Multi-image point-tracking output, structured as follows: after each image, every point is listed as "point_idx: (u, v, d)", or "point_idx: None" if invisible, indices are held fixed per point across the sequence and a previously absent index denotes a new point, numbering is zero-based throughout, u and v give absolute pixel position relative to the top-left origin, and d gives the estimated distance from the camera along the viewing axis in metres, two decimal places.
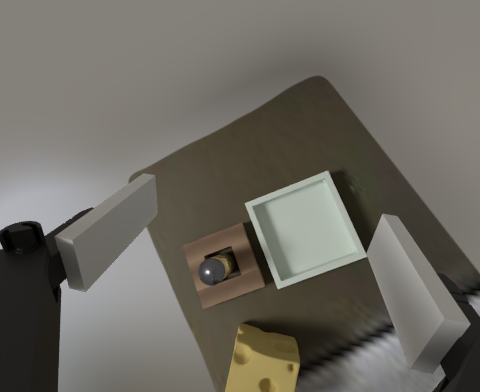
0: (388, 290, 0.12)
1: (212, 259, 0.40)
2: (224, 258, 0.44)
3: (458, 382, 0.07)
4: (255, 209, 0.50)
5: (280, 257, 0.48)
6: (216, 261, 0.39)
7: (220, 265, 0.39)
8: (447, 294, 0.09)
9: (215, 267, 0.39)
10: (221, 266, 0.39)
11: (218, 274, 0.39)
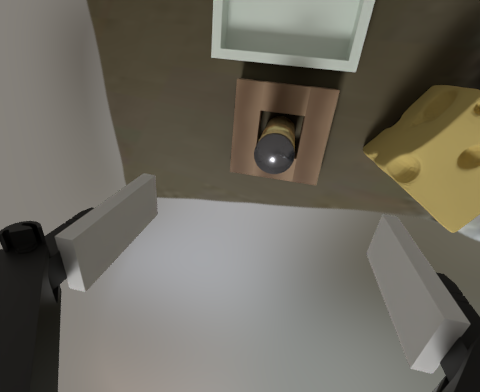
0: (388, 290, 0.12)
1: (258, 144, 0.26)
2: (269, 127, 0.29)
3: (458, 382, 0.07)
4: (229, 47, 0.31)
5: (316, 45, 0.29)
6: (264, 140, 0.25)
7: (272, 137, 0.25)
8: (447, 294, 0.09)
9: (271, 146, 0.25)
10: (274, 137, 0.25)
11: (283, 146, 0.25)
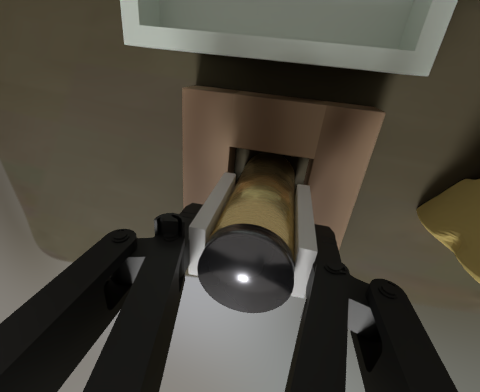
0: None
1: (206, 253, 0.10)
2: (241, 191, 0.14)
3: (308, 304, 0.08)
4: (167, 25, 0.16)
5: (338, 20, 0.14)
6: (218, 247, 0.10)
7: (238, 243, 0.10)
8: (312, 234, 0.11)
9: (236, 259, 0.10)
10: (243, 241, 0.10)
11: (266, 263, 0.10)
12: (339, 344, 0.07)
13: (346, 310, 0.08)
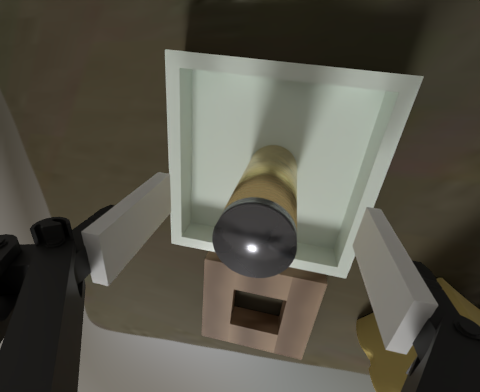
0: (369, 279, 0.12)
1: (220, 222, 0.12)
2: (250, 174, 0.15)
3: (427, 361, 0.07)
4: (195, 220, 0.26)
5: (298, 231, 0.24)
6: (231, 215, 0.12)
7: (249, 211, 0.11)
8: (419, 279, 0.10)
9: (247, 227, 0.12)
10: (254, 210, 0.11)
11: (273, 230, 0.12)
12: None
13: None
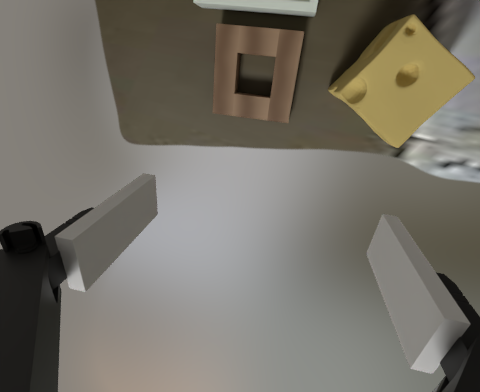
0: (388, 290, 0.12)
1: None
2: None
3: (458, 382, 0.07)
4: None
5: None
6: None
7: None
8: (447, 294, 0.09)
9: None
10: None
11: None
12: None
13: None
